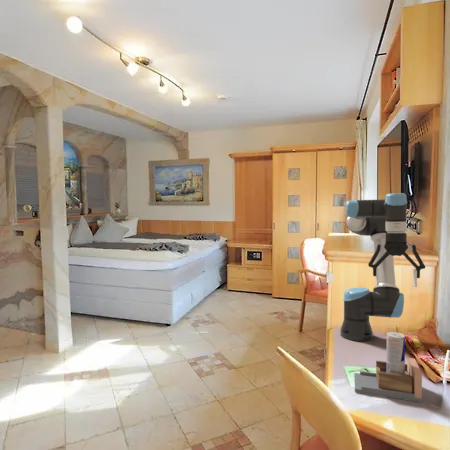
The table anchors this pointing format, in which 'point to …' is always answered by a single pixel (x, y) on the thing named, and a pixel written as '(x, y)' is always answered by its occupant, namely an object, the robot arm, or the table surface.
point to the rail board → (369, 385)
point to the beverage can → (395, 353)
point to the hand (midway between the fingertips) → (395, 285)
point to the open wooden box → (392, 379)
